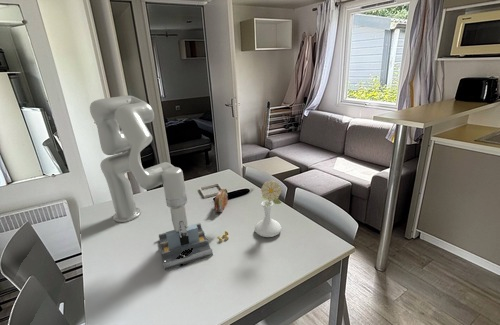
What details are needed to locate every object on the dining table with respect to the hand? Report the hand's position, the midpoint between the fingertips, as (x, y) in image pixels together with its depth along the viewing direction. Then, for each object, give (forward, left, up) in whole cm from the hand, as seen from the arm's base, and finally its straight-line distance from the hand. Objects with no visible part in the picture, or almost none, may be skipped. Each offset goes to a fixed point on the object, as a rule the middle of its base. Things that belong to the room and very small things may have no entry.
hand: (182, 237), depth 106 cm
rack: (0, 0, -5) cm, 5 cm away
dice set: (+2, +16, -6) cm, 17 cm away
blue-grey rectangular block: (0, 0, -4) cm, 4 cm away
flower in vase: (+7, +35, -5) cm, 36 cm away
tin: (-23, +23, -5) cm, 33 cm away
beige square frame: (-43, +23, -5) cm, 49 cm away
